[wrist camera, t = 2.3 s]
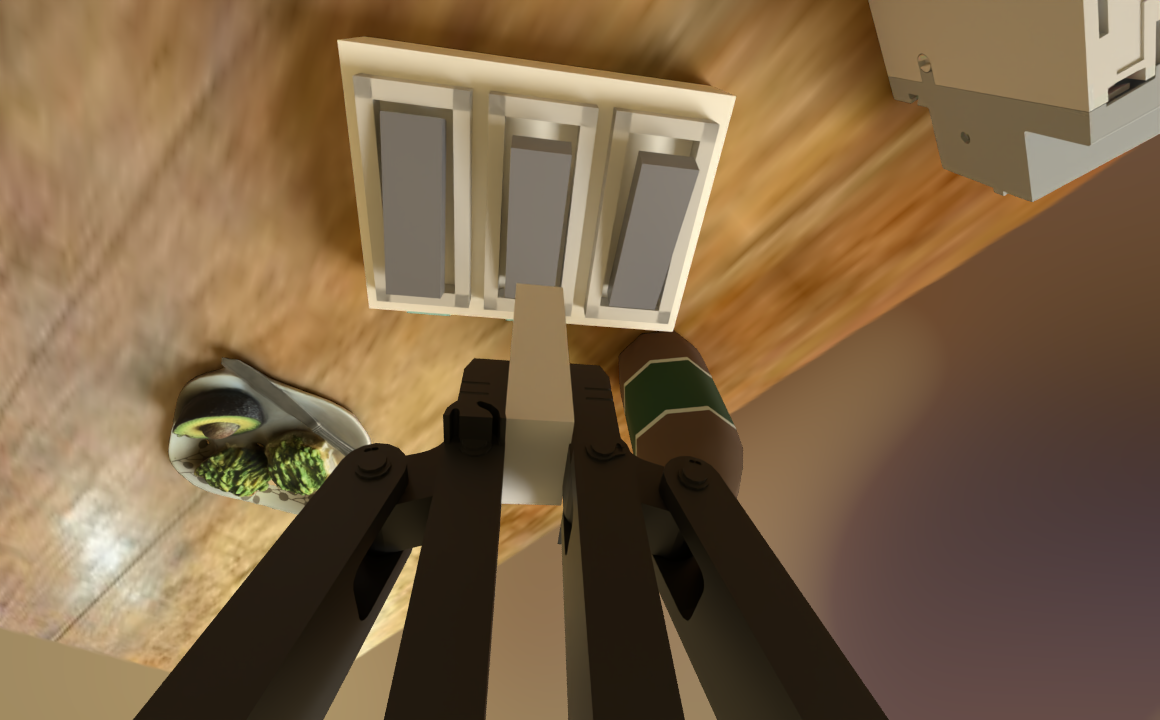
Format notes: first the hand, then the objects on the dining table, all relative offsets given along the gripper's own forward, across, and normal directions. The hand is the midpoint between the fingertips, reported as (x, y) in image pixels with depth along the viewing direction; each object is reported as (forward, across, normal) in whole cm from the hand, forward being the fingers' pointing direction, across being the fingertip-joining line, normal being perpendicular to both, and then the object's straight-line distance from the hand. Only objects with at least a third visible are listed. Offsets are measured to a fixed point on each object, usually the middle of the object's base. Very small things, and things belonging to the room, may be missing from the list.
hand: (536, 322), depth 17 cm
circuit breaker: (+23, +26, +10) cm, 36 cm away
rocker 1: (+16, -7, -2) cm, 17 cm away
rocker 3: (+16, +7, -2) cm, 17 cm away
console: (+22, 0, -2) cm, 22 cm away
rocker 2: (+16, 0, -2) cm, 16 cm away
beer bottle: (+23, +12, -16) cm, 30 cm away
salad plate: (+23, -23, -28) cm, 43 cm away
